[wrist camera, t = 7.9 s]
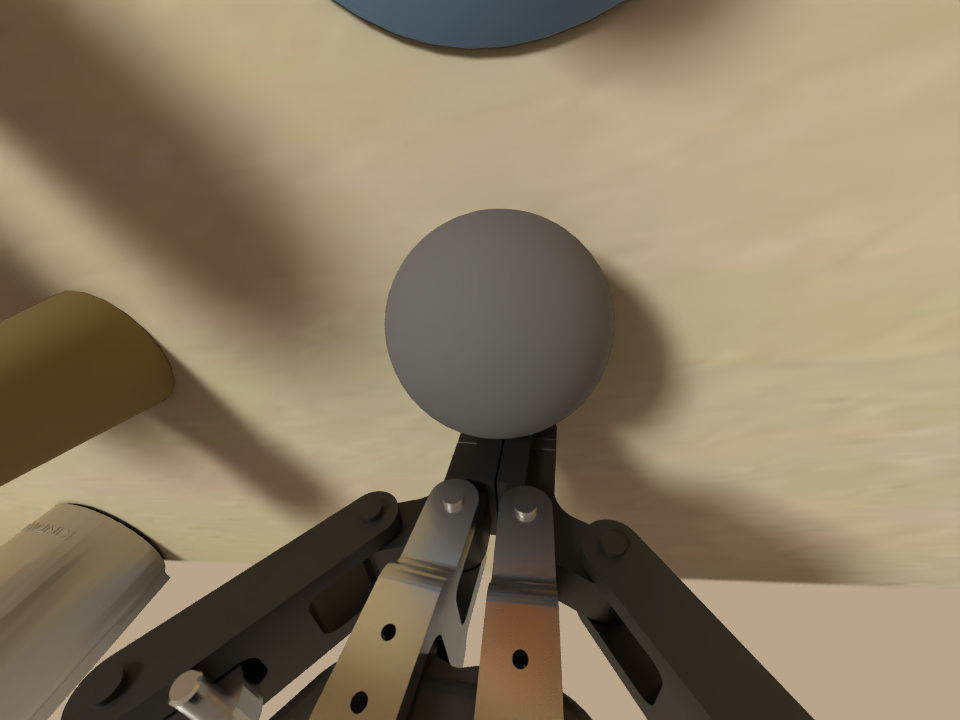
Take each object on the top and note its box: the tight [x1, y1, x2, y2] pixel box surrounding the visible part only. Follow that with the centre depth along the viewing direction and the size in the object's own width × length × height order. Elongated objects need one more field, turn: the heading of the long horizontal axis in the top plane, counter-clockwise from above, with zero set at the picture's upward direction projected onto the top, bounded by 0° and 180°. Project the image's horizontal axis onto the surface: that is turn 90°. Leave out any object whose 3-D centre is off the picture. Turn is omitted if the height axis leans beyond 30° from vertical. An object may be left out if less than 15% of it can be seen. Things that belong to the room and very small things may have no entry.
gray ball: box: [385, 209, 614, 439], centre depth 10 cm, size 6×6×6 cm
